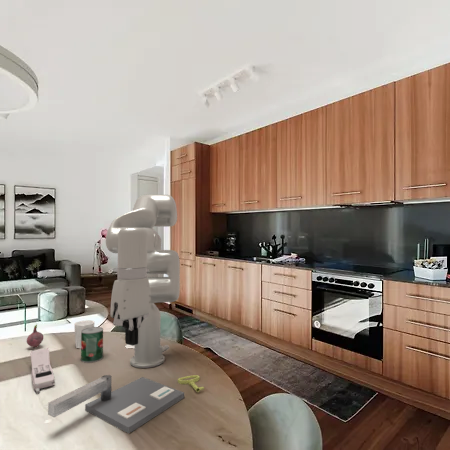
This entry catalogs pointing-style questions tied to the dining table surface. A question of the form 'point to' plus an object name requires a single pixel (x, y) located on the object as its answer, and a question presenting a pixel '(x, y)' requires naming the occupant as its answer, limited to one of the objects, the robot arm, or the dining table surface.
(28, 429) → the dining table surface
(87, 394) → the swing arm
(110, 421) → the label panel
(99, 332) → the canned tomato
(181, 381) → the key
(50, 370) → the mobile phone
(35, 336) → the vegetable
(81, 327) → the white cup
